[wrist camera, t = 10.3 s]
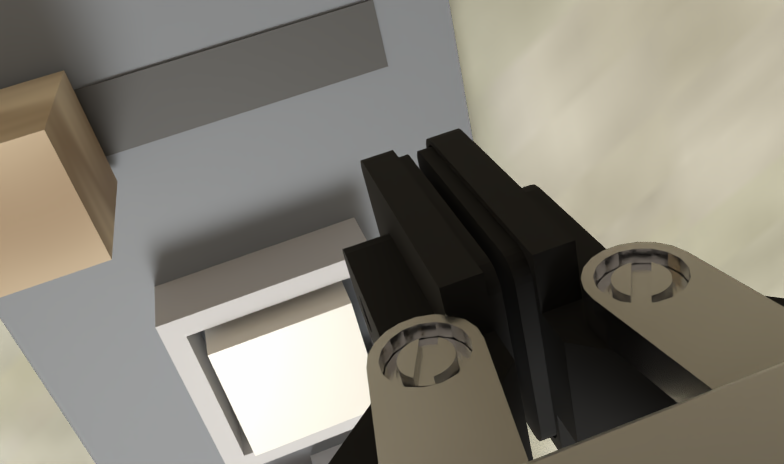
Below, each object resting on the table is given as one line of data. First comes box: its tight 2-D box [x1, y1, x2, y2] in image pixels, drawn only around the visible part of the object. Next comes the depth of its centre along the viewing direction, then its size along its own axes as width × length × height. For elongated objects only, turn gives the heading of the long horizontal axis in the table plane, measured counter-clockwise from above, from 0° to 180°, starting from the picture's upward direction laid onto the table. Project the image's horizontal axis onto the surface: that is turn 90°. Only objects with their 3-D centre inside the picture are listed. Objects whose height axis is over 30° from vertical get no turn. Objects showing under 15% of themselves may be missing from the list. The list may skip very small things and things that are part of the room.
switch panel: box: [0, 0, 473, 464], centre depth 23 cm, size 24×14×4 cm, turn 13°
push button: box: [205, 281, 371, 456], centre depth 21 cm, size 4×4×2 cm
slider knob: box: [0, 70, 118, 297], centre depth 16 cm, size 3×3×4 cm
